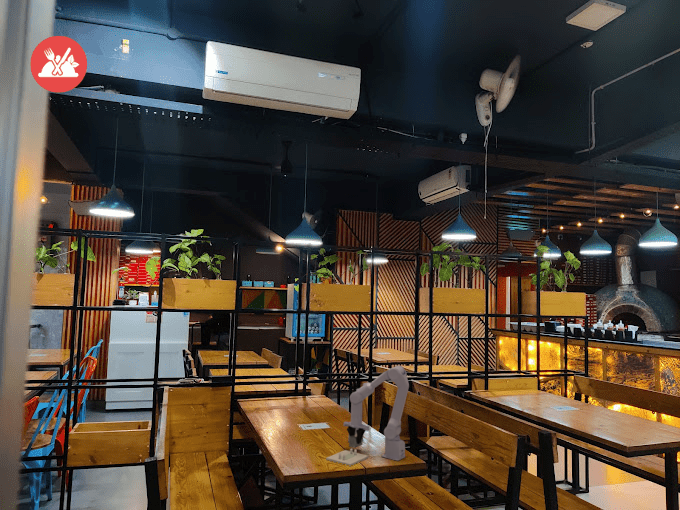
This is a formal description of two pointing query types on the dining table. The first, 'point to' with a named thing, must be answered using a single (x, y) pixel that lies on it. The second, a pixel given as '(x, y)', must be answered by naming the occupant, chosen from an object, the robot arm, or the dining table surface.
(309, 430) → the dining table surface
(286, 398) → the dining table surface
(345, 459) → the pin tray
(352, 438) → the block
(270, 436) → the dining table surface
